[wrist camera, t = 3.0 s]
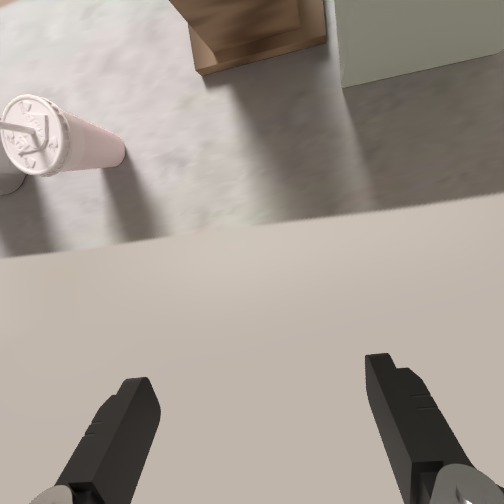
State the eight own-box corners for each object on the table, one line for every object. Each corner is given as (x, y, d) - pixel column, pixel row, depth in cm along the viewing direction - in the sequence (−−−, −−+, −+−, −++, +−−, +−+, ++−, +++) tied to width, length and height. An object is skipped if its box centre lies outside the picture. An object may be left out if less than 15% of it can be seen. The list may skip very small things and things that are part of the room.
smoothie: (146, 154, 33) (24, 132, 20) (109, 190, 35) (-24, 193, 22) (111, 106, 33) (-36, 50, 19) (76, 145, 35) (-80, 119, 21)
